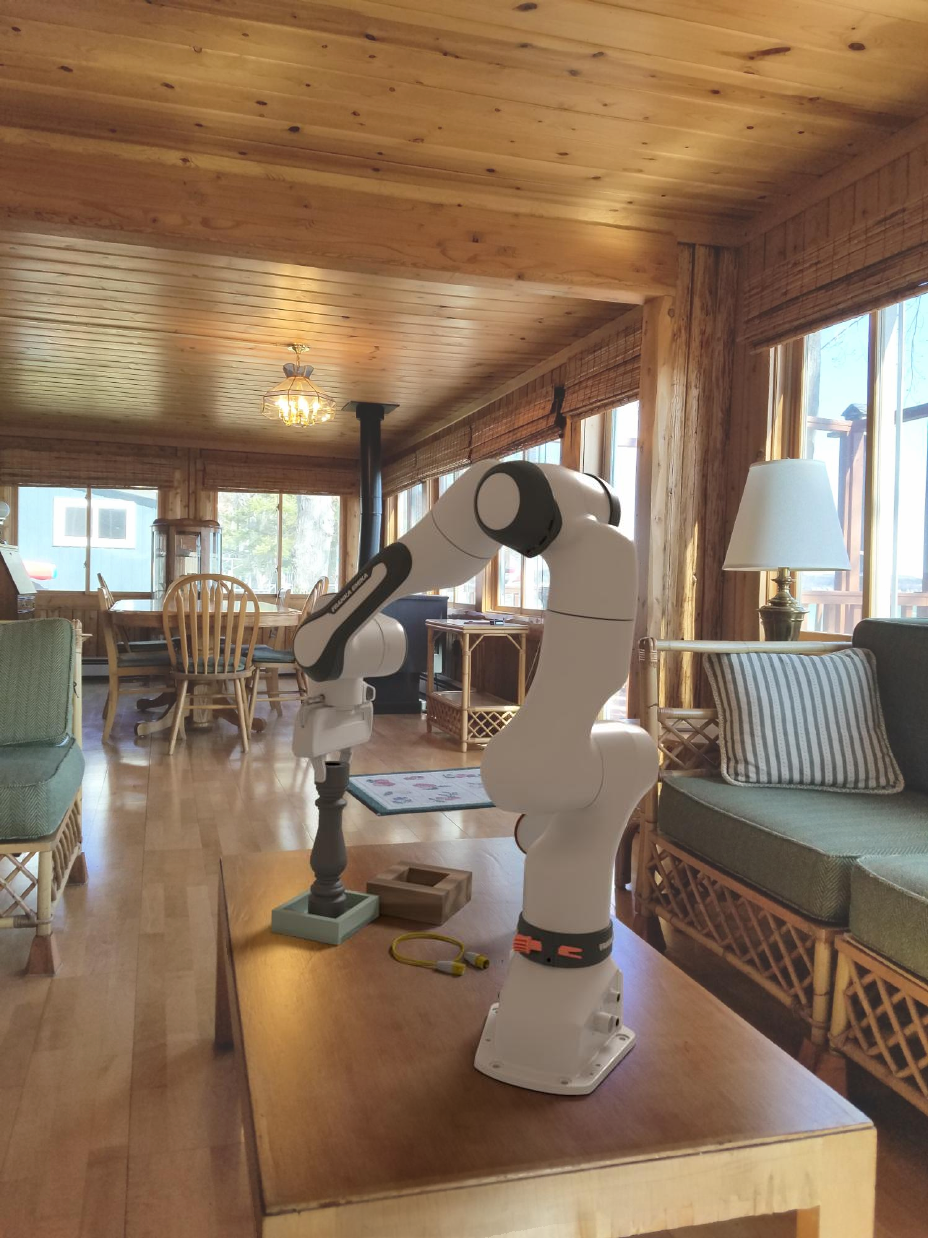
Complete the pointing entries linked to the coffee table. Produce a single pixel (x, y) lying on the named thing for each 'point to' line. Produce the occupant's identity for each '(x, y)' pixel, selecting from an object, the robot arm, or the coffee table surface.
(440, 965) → the extension cord
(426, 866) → the socket block
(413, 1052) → the coffee table surface
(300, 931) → the parts tray
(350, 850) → the coffee table surface
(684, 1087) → the coffee table surface
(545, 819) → the magnifying glass
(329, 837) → the candle holder
